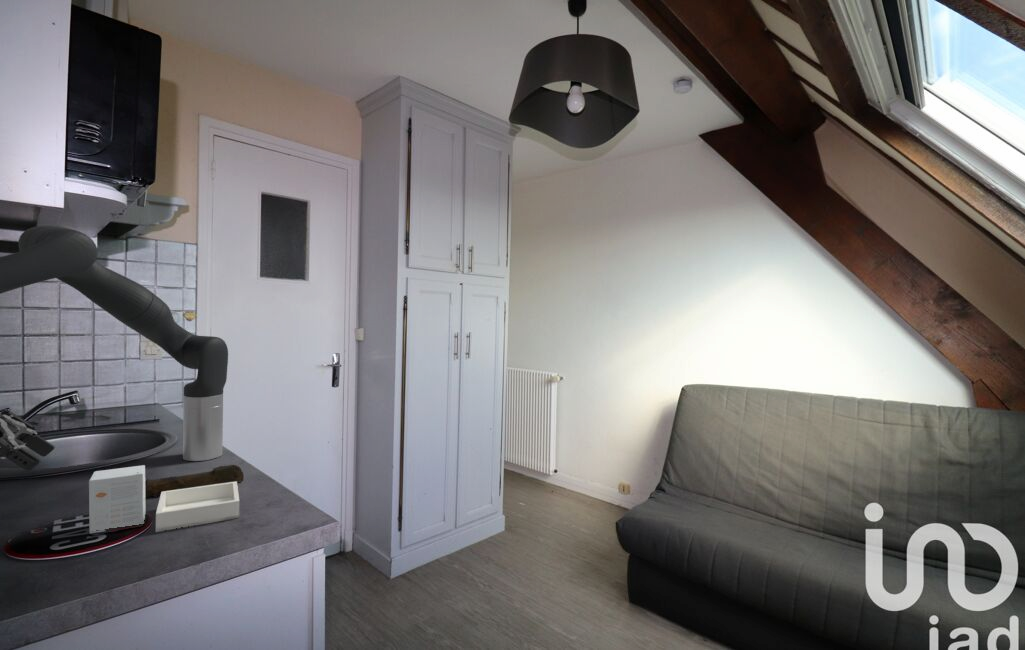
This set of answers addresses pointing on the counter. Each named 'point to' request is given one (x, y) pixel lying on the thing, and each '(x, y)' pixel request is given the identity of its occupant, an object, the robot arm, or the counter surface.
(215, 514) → the tray
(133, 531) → the counter surface
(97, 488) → the small box
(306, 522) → the counter surface
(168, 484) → the hand tool
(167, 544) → the counter surface
